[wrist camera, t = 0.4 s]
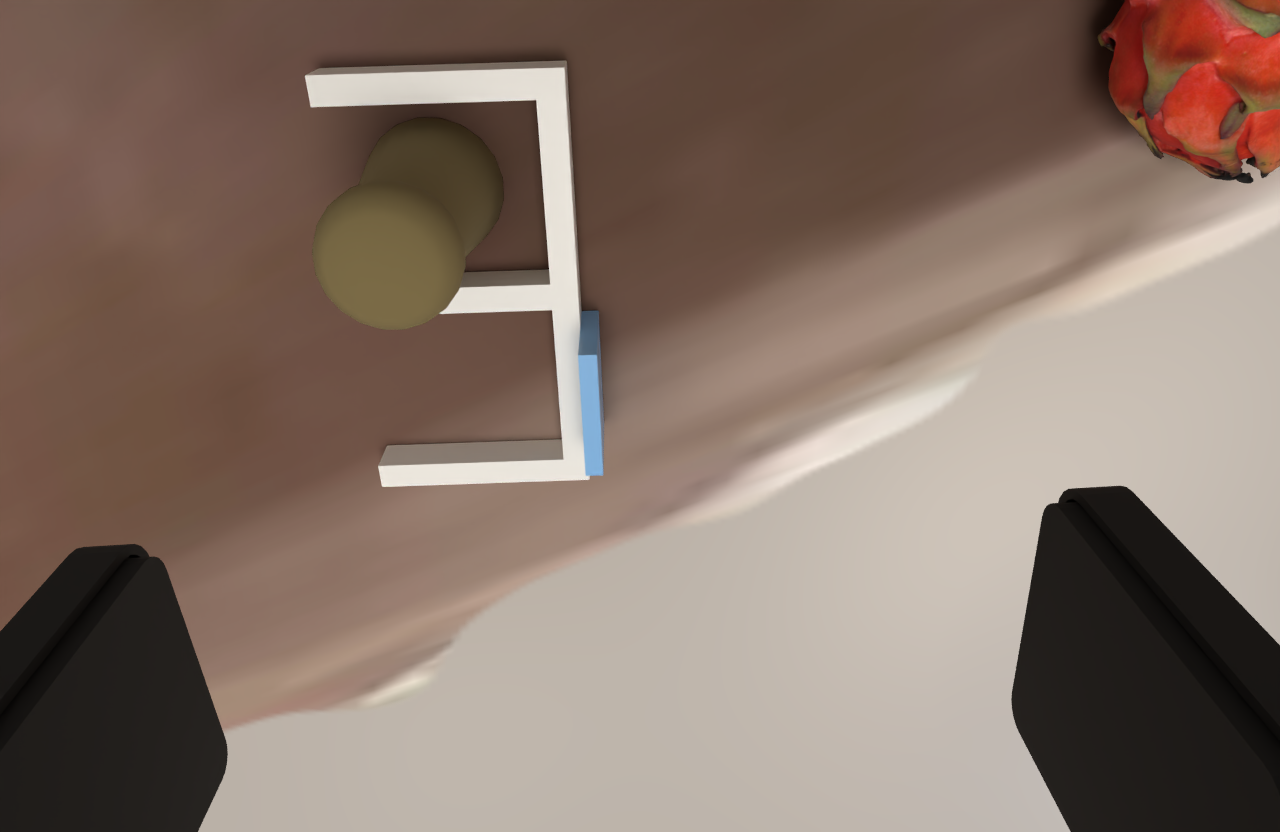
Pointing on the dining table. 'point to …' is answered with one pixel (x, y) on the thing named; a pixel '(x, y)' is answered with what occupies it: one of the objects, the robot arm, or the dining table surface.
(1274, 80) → the dragon fruit
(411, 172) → the olive rounded piece
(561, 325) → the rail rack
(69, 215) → the dining table surface
